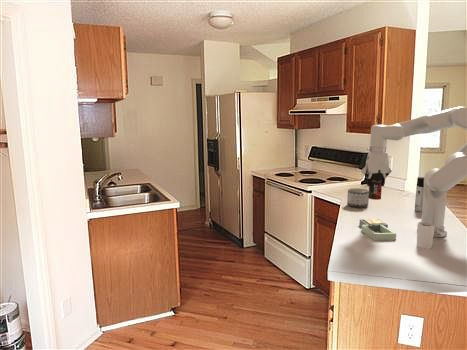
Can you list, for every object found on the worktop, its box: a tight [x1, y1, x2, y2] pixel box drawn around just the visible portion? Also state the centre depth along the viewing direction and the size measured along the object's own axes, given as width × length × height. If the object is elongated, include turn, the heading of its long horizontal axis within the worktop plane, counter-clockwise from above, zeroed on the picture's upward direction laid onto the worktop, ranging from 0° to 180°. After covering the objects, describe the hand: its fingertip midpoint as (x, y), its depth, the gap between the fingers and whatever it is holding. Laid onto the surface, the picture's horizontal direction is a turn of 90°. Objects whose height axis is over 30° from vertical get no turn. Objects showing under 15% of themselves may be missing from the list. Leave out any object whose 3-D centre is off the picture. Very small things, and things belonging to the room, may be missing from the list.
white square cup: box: [416, 221, 435, 249], centre depth 152 cm, size 7×7×10 cm
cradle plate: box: [362, 218, 385, 225], centre depth 178 cm, size 7×7×2 cm
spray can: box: [414, 176, 425, 213], centre depth 209 cm, size 7×7×20 cm
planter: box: [346, 187, 370, 209], centre depth 222 cm, size 13×13×10 cm
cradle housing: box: [358, 218, 389, 232], centre depth 178 cm, size 10×10×3 cm
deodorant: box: [368, 170, 383, 201], centre depth 175 cm, size 6×6×15 cm
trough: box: [361, 224, 397, 241], centre depth 167 cm, size 14×10×3 cm
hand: (375, 185), depth 175 cm, fingers closed on deodorant, 6 cm apart
